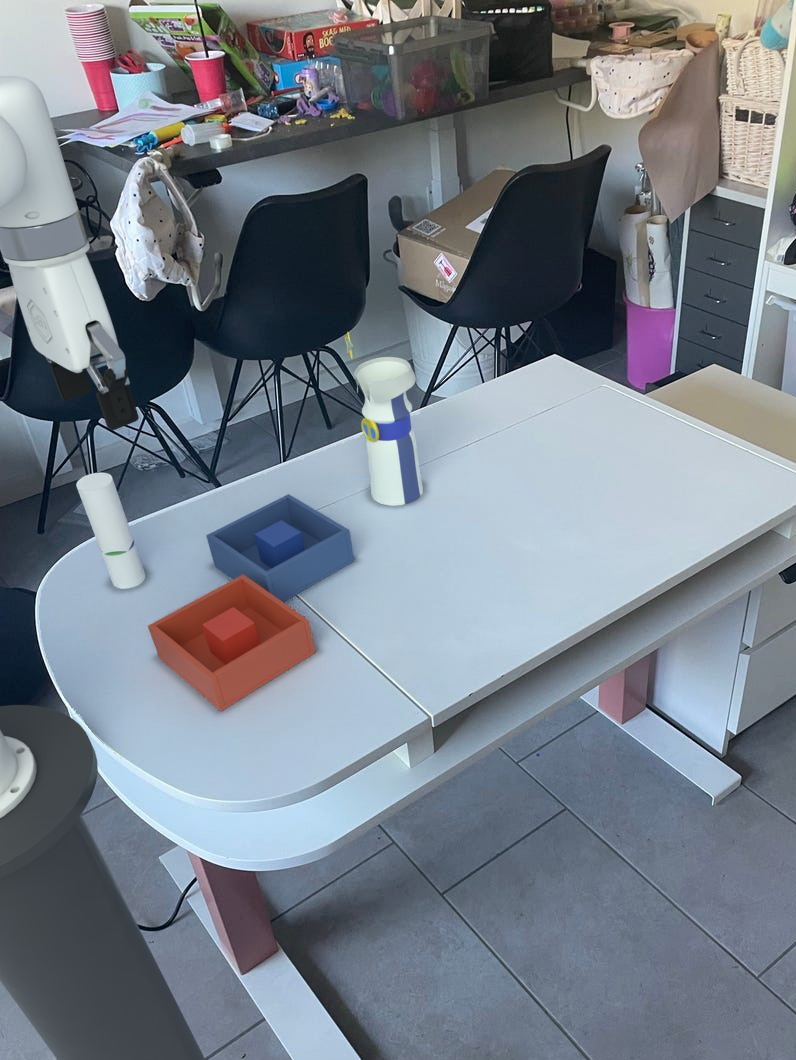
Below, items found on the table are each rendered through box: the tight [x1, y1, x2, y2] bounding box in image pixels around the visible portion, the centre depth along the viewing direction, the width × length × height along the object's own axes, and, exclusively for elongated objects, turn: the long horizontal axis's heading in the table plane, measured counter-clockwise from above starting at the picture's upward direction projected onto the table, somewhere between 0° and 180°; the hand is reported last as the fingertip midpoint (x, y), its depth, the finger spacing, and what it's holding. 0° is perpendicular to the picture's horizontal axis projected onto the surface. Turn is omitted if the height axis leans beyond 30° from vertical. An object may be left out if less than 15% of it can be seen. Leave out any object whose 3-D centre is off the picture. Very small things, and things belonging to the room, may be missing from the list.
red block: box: [202, 607, 260, 665], centre depth 110 cm, size 4×4×4 cm
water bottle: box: [344, 331, 424, 507], centre depth 130 cm, size 8×9×25 cm
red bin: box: [147, 575, 317, 712], centre depth 111 cm, size 13×13×5 cm
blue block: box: [254, 520, 305, 568], centre depth 124 cm, size 4×4×4 cm
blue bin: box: [205, 493, 355, 603], centre depth 125 cm, size 13×13×5 cm
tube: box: [75, 472, 147, 590], centre depth 120 cm, size 4×4×15 cm
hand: (100, 409), depth 96 cm, fingers open, 9 cm apart
